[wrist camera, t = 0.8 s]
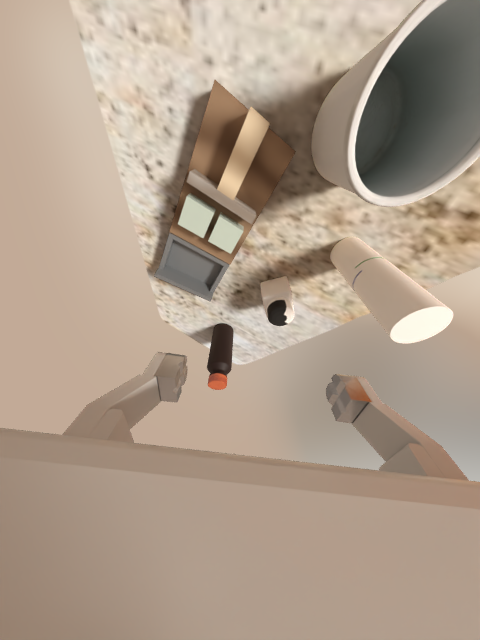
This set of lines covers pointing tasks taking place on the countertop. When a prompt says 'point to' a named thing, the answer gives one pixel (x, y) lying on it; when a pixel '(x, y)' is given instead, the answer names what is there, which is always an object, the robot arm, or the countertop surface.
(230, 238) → the tile
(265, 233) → the countertop surface
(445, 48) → the utensil holder
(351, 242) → the cylindrical container
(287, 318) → the medicine bottle
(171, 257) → the box
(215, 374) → the vinegar
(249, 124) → the scraper
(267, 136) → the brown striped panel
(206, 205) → the tile
